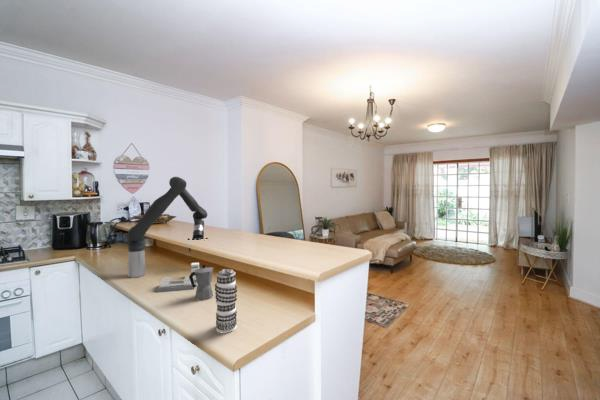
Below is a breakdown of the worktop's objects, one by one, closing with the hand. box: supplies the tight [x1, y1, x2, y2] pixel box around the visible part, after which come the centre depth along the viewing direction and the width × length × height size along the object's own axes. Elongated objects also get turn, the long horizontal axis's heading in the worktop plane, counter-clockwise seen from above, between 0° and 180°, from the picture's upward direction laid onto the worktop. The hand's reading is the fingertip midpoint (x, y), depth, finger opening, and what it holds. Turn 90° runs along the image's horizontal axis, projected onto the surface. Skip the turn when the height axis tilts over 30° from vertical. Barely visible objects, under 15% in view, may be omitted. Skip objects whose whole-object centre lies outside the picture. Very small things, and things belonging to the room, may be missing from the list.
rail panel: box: [156, 275, 197, 293], centre depth 160 cm, size 20×12×5 cm, turn 105°
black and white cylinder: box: [214, 268, 238, 334], centre depth 114 cm, size 9×9×25 cm
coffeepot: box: [188, 264, 215, 301], centre depth 144 cm, size 15×9×18 cm, turn 147°
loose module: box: [190, 262, 200, 279], centre depth 178 cm, size 4×4×9 cm
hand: (196, 251), depth 188 cm, fingers open, 8 cm apart
